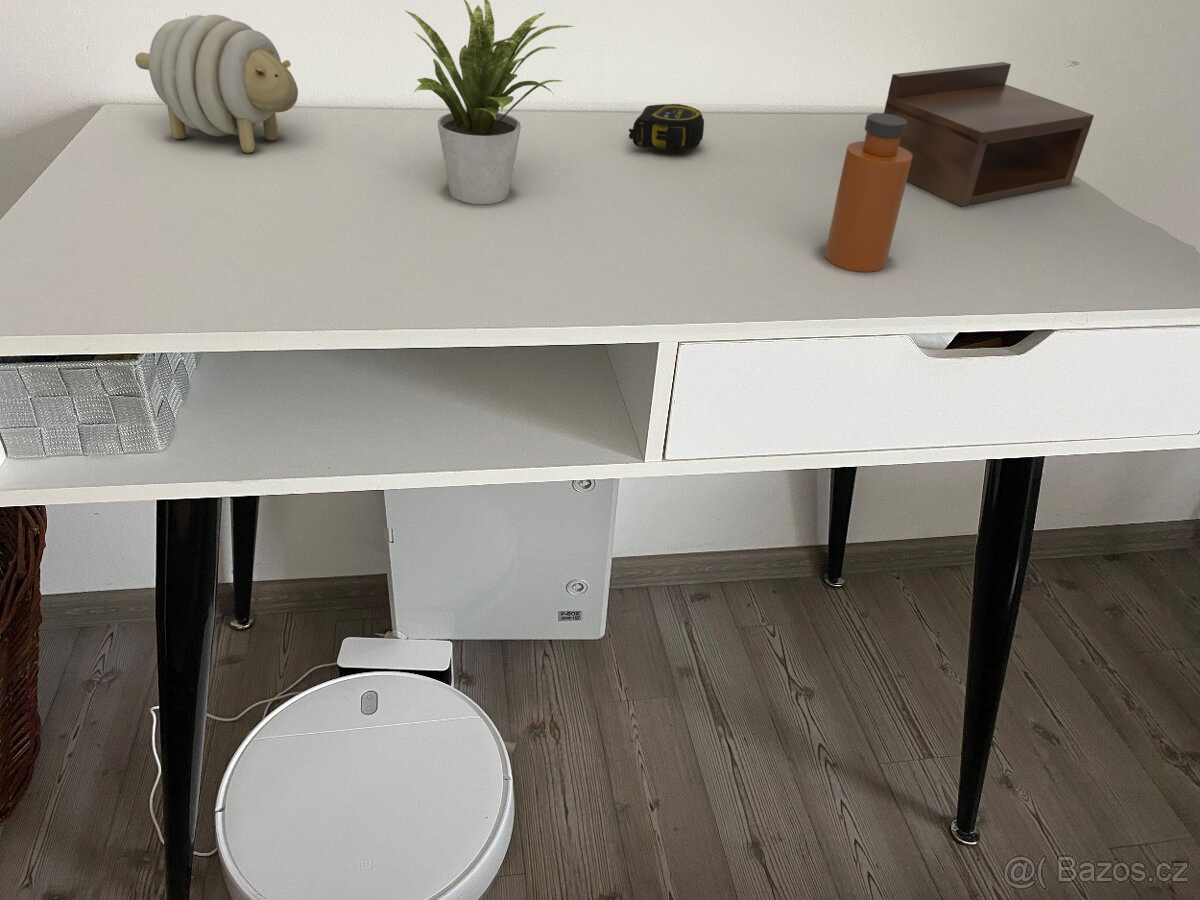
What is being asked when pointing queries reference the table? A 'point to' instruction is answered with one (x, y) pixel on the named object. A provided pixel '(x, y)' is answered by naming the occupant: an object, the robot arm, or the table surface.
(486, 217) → the table surface
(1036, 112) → the box
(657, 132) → the tape measure
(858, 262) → the bottle
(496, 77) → the house plant
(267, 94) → the toy sheep
